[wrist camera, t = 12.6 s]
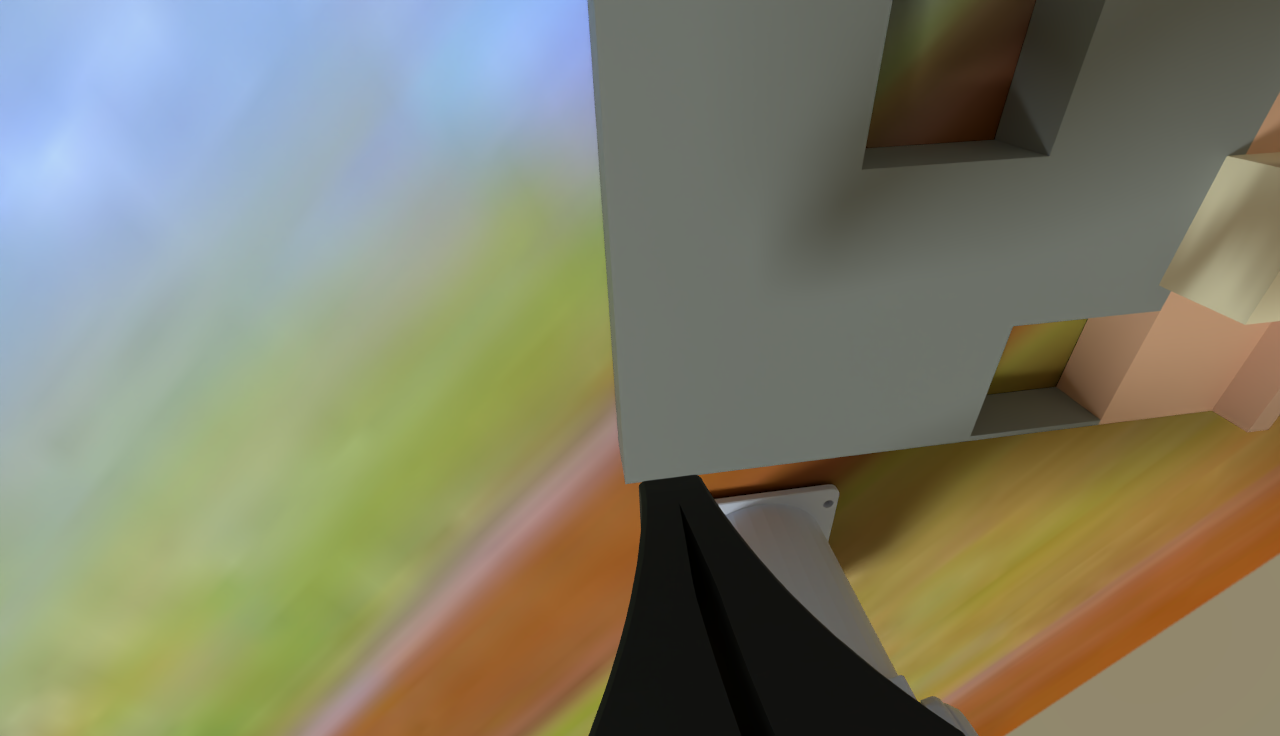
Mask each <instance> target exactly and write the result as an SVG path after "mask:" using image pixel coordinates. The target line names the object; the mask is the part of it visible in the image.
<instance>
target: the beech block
mask: <svg viewBox="0 0 1280 736" xmlns="http://www.w3.org/2000/svg"><path fill="white" fill-rule="evenodd" d="M1159 286H1161V287H1163V288H1165V289H1168V290H1170V291H1172V292H1174V293H1176V294H1179V295H1181V296H1183V297H1185V298H1187V299H1190V300H1192V301H1194V302H1196V303H1198V304H1200V305H1203V306H1205V307H1207V308H1209V309H1211V310H1214V311H1216V312H1218V313H1220V314H1222V315H1225V316H1227V317H1229V318H1231V319H1233V320H1235V321H1238V322H1240V323H1242V324H1244V325H1248V324H1257V323H1266V322H1275V321H1280V152H1273V153H1259V154H1246V155H1233V156H1227V157H1226V159H1225V161H1224V162H1223V164H1222V166H1221V168H1220V170H1219V172H1218V174H1217V176H1216V178H1215V180H1214V181H1213V183H1212V185H1211V187H1210V189H1209V191H1208V193H1207V195H1206V197H1205V198H1204V200H1203V202H1202V204H1201V206H1200V208H1199V210H1198V212H1197V214H1196V216H1195V217H1194V219H1193V221H1192V223H1191V225H1190V227H1189V229H1188V231H1187V233H1186V234H1185V236H1184V238H1183V240H1182V242H1181V244H1180V246H1179V248H1178V250H1177V251H1176V253H1175V255H1174V257H1173V259H1172V261H1171V263H1170V265H1169V267H1168V269H1167V270H1166V272H1165V274H1164V276H1163V278H1162V280H1161V282H1160V284H1159Z"/></svg>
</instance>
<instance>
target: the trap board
mask: <svg viewBox="0 0 1280 736" xmlns="http://www.w3.org/2000/svg"><path fill="white" fill-rule="evenodd" d="M892 1H893V0H588V13H589V28H590V42H591V56H592V70H593V84H594V99H595V113H596V127H597V141H598V156H599V170H600V184H601V198H602V212H603V227H604V241H605V255H606V269H607V284H608V298H609V312H610V326H611V340H612V355H613V369H614V383H615V397H616V412H617V426H618V440H619V447H620V454H621V460H622V466H623V472H624V478H625V484H629V483H637V482H643V481H648V480H656V479H664V478H672V477H680V476H688V475H701V474H709V473H717V472H725V471H733V470H741V469H749V468H757V467H765V466H773V465H781V464H789V463H797V462H805V461H813V460H821V459H829V458H837V457H845V456H853V455H861V454H869V453H877V452H885V451H893V450H901V449H908V448H916V447H924V446H932V445H940V444H948V443H956V442H964V441H972V440H980V439H988V438H996V437H1004V436H1012V435H1020V434H1028V433H1036V432H1044V431H1052V430H1060V429H1068V428H1076V427H1084V426H1092V425H1100V424H1108V423H1116V422H1124V421H1132V420H1140V419H1148V418H1156V417H1164V416H1172V415H1180V414H1188V413H1196V412H1204V411H1213V412H1215V413H1217V414H1218V415H1220V416H1222V417H1223V418H1225V419H1227V420H1228V421H1230V422H1231V423H1233V424H1235V425H1236V426H1238V427H1240V428H1241V429H1243V430H1245V431H1246V432H1253V431H1261V430H1268V429H1269V428H1270V427H1271V426H1272V424H1273V423H1274V422H1275V420H1276V419H1277V418H1278V416H1279V415H1280V321H1275V322H1266V323H1257V324H1248V325H1244V324H1242V323H1240V322H1238V321H1235V320H1233V319H1231V318H1229V317H1227V316H1225V315H1222V314H1220V313H1218V312H1216V311H1214V310H1211V309H1209V308H1207V307H1205V306H1203V305H1200V304H1198V303H1196V302H1194V301H1192V300H1190V299H1187V298H1185V297H1183V296H1181V295H1179V294H1176V293H1174V292H1172V291H1170V290H1168V289H1165V288H1163V287H1161V286H1159V284H1160V282H1161V280H1162V278H1163V276H1164V274H1165V272H1166V270H1167V269H1168V267H1169V265H1170V263H1171V261H1172V259H1173V257H1174V255H1175V253H1176V251H1177V250H1178V248H1179V246H1180V244H1181V242H1182V240H1183V238H1184V236H1185V234H1186V233H1187V231H1188V229H1189V227H1190V225H1191V223H1192V221H1193V219H1194V217H1195V216H1196V214H1197V212H1198V210H1199V208H1200V206H1201V204H1202V202H1203V200H1204V198H1205V197H1206V195H1207V193H1208V191H1209V189H1210V187H1211V185H1212V183H1213V181H1214V180H1215V178H1216V176H1217V174H1218V172H1219V170H1220V168H1221V166H1222V164H1223V162H1224V161H1225V159H1226V157H1227V156H1233V155H1246V154H1259V153H1273V152H1280V0H1036V3H1035V7H1034V10H1033V13H1032V17H1031V20H1030V23H1029V27H1028V30H1027V33H1026V37H1025V40H1024V43H1023V46H1022V50H1021V53H1020V56H1019V60H1018V63H1017V66H1016V70H1015V73H1014V76H1013V80H1012V83H1011V86H1010V90H1009V93H1008V96H1007V99H1006V103H1005V106H1004V109H1003V113H1002V116H1001V119H1000V123H999V126H998V129H997V133H996V136H995V139H994V140H982V141H967V142H953V143H938V144H923V145H908V146H894V147H879V148H866V143H867V137H868V132H869V126H870V121H871V115H872V110H873V105H874V99H875V94H876V88H877V83H878V77H879V72H880V66H881V61H882V55H883V50H884V44H885V39H886V33H887V28H888V22H889V17H890V12H891V6H892ZM1087 318H1088V320H1087V322H1086V324H1085V326H1084V329H1083V331H1082V333H1081V335H1080V337H1079V339H1078V341H1077V344H1076V346H1075V348H1074V350H1073V352H1072V354H1071V356H1070V358H1069V361H1068V363H1067V365H1066V367H1065V369H1064V371H1063V373H1062V376H1061V378H1060V380H1059V382H1058V384H1057V386H1056V387H1050V388H1042V389H1033V390H1025V391H1016V392H1008V393H999V394H991V395H986V394H987V392H988V389H989V387H990V384H991V382H992V379H993V376H994V374H995V371H996V369H997V366H998V363H999V361H1000V358H1001V356H1002V353H1003V351H1004V348H1005V345H1006V343H1007V340H1008V338H1009V335H1010V332H1011V330H1012V327H1013V326H1020V325H1029V324H1039V323H1049V322H1058V321H1068V320H1077V319H1087Z"/></svg>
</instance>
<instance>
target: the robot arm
mask: <svg viewBox="0 0 1280 736" xmlns="http://www.w3.org/2000/svg"><path fill="white" fill-rule="evenodd" d="M639 497H640V519H641V535H640V544H639V553H638V561H637V567H636V573H635V578H634V583H633V589H632V594H631V599H630V604H629V608H628V612H627V617H626V621H625V625H624V628H623V632H622V636H621V640H620V644H619V647H618V650H617V654H616V657H615V660H614V664H613V667H612V670H611V674H610V677H609V680H608V683H607V686H606V689H605V692H604V695H603V698H602V700H601V703H600V706H599V709H598V711H597V714H596V717H595V720H594V722H593V725H592V728H591V730H590V733H589V736H978V734H977V733H976V731H975V730H974V728H973V727H972V725H971V724H970V723H969V721H968V720H967V719H966V717H965V716H964V715H963V714H962V713H961V712H960V711H959V710H958V709H956V708H954V707H952V706H950V705H948V704H946V703H943V702H942V701H941V700H940V699H939V698H937V697H935V696H931V697H928V698H926V699H923V700H921V703H920V702H918V701H917V700H916V698H915V696H914V694H913V692H912V690H911V688H910V687H909V685H908V683H907V681H906V679H905V677H904V676H902V675H899V676H898V675H897V673H896V671H895V669H894V667H893V665H892V663H891V661H890V659H889V657H888V655H887V654H886V652H885V650H884V648H883V646H882V644H881V642H880V640H879V638H878V636H877V634H876V633H875V631H874V629H873V627H872V625H871V623H870V621H869V619H868V617H867V615H866V614H865V612H864V610H863V608H862V606H861V604H860V602H859V600H858V598H857V596H856V594H855V593H854V591H853V589H852V587H851V585H850V583H849V581H848V579H847V577H846V575H845V573H844V572H843V570H842V568H841V566H840V564H839V562H838V560H837V558H836V556H835V554H834V552H833V551H832V549H831V547H830V545H829V543H828V541H829V537H830V532H831V528H832V524H833V520H834V515H835V511H836V507H837V503H838V498H839V491H838V489H837V488H836V486H835V485H832V484H827V485H819V486H811V487H804V488H796V489H788V490H781V491H773V492H765V493H758V494H750V495H742V496H735V497H727V498H719V499H714V498H713V497H712V495H711V494H710V492H709V490H708V489H707V487H706V486H705V484H704V482H703V481H702V479H701V477H699V476H698V475H688V476H680V477H672V478H664V479H656V480H648V481H643V482H642V483H641V484H640V485H639Z"/></svg>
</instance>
